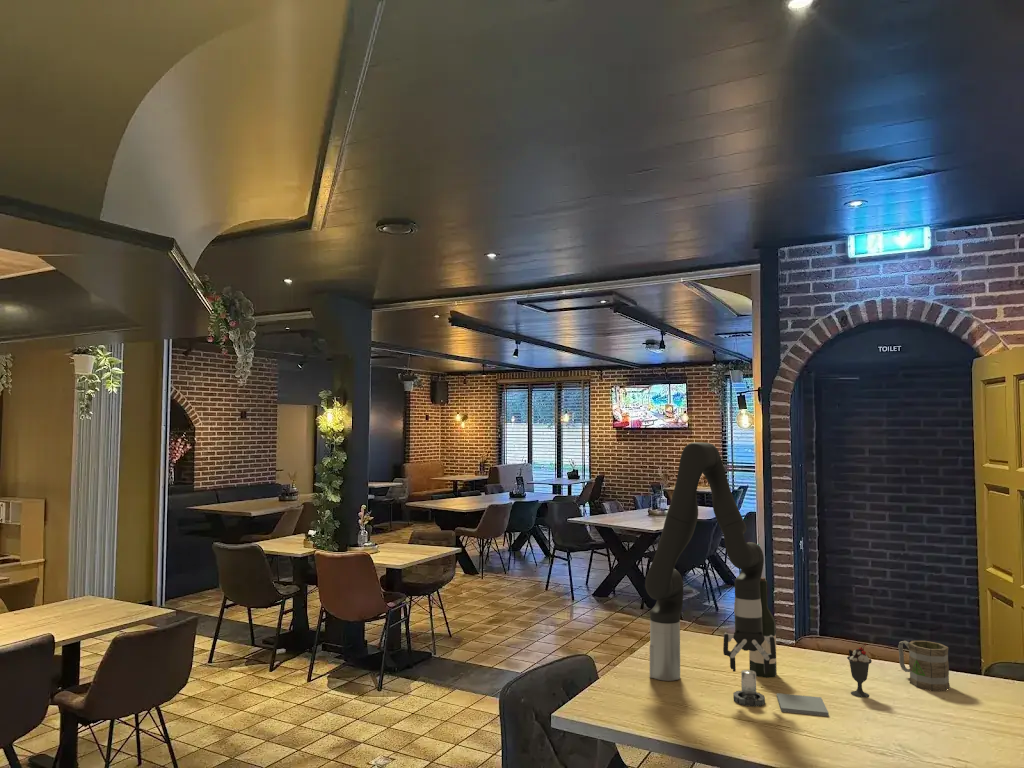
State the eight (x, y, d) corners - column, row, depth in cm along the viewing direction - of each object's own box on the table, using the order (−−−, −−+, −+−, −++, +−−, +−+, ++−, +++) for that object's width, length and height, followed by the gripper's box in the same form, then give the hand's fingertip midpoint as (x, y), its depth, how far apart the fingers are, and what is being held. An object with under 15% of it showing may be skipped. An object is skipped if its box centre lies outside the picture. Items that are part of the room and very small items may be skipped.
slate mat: (781, 711, 196) (781, 707, 196) (776, 696, 208) (776, 693, 208) (828, 716, 193) (828, 712, 193) (821, 701, 205) (821, 697, 205)
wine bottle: (773, 670, 232) (771, 575, 235) (780, 678, 224) (778, 580, 226) (746, 668, 233) (745, 575, 235) (752, 677, 225) (751, 579, 227)
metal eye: (734, 704, 201) (734, 699, 201) (732, 694, 209) (732, 689, 209) (765, 707, 199) (765, 702, 199) (763, 697, 207) (763, 692, 207)
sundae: (875, 699, 206) (874, 646, 208) (850, 697, 208) (849, 644, 209) (869, 691, 213) (867, 639, 214) (845, 689, 214) (843, 638, 215)
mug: (958, 689, 216) (957, 648, 217) (933, 693, 212) (931, 651, 213) (912, 673, 231) (911, 635, 232) (887, 677, 227) (886, 638, 228)
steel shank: (742, 702, 203) (741, 673, 203) (741, 698, 206) (740, 669, 207) (757, 704, 202) (756, 675, 202) (755, 699, 205) (755, 670, 206)
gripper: (722, 615, 204) (724, 674, 202) (775, 618, 200) (777, 678, 199) (721, 609, 211) (723, 666, 210) (773, 612, 208) (775, 670, 206)
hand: (749, 672), depth 204 cm, fingers open, 8 cm apart
